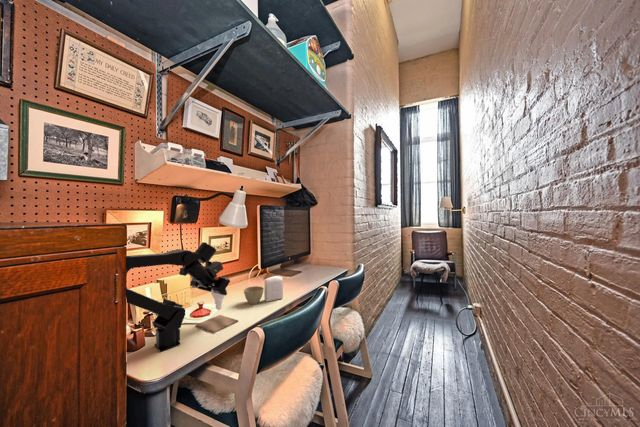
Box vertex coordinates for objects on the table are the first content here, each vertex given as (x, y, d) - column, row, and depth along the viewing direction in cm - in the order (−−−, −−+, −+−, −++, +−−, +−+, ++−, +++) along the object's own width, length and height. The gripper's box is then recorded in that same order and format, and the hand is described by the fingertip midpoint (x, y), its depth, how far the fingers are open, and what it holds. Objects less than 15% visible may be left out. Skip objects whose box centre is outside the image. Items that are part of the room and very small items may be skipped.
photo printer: (280, 296, 143) (280, 274, 143) (284, 298, 139) (284, 276, 139) (263, 300, 137) (263, 277, 137) (266, 302, 133) (266, 278, 133)
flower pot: (248, 299, 139) (248, 286, 139) (266, 299, 138) (266, 286, 138) (240, 305, 129) (240, 291, 129) (259, 306, 128) (259, 292, 128)
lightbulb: (220, 312, 106) (220, 286, 106) (208, 311, 107) (207, 285, 107) (229, 307, 111) (229, 282, 112) (217, 306, 113) (217, 281, 113)
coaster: (214, 333, 99) (214, 331, 99) (195, 326, 105) (195, 324, 105) (238, 321, 110) (238, 320, 110) (219, 316, 116) (219, 314, 116)
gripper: (226, 258, 102) (246, 280, 111) (197, 254, 111) (218, 274, 120) (209, 282, 95) (232, 303, 104) (179, 276, 104) (203, 296, 113)
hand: (221, 293), depth 111 cm, fingers closed on lightbulb, 6 cm apart
